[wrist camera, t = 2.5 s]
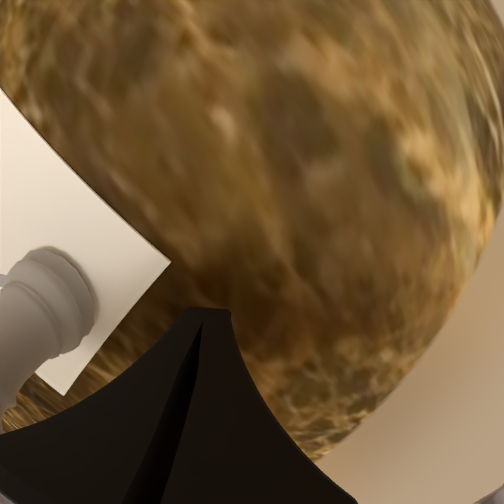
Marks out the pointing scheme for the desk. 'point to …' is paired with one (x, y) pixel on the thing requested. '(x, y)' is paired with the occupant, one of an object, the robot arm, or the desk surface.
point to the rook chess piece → (39, 318)
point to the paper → (68, 236)
